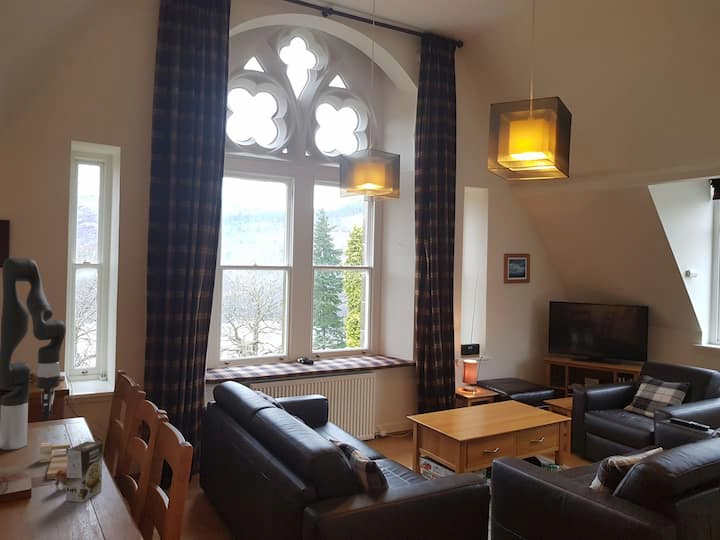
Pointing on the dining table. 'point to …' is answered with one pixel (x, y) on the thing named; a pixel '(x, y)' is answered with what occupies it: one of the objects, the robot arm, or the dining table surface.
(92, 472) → the coffee box
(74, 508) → the dining table surface
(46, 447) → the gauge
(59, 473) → the bull figurine
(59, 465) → the board
